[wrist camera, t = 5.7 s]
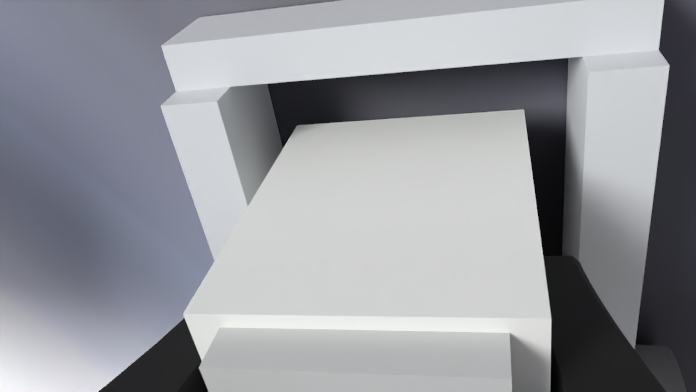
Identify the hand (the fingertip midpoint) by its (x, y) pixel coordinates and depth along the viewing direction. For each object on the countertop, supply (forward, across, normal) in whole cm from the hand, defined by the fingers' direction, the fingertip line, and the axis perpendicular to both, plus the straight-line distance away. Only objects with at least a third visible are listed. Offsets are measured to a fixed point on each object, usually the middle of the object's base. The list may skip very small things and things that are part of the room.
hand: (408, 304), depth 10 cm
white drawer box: (+2, 0, 0) cm, 2 cm away
